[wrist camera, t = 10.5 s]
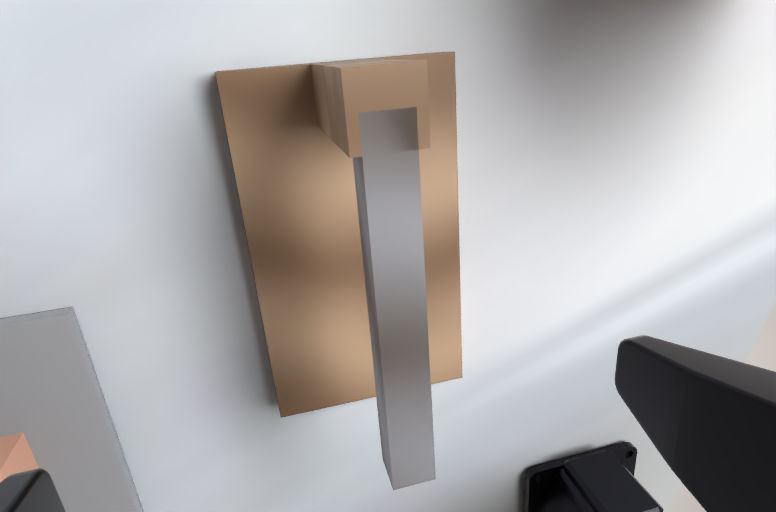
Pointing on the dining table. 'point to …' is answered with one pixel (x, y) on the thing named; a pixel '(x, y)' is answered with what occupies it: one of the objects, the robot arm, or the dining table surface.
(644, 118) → the dining table surface
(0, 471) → the u-shaped block
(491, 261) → the dining table surface
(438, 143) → the stand
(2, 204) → the dining table surface
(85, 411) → the coaster
